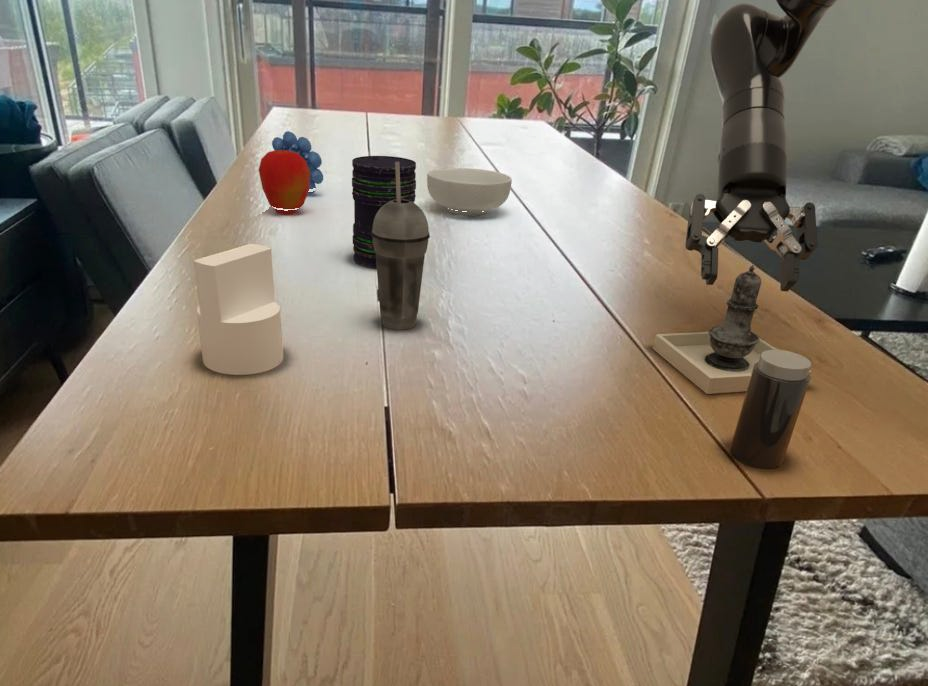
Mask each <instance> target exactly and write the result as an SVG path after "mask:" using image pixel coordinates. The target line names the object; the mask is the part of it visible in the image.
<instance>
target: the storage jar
mask: <svg viewBox="0 0 928 686" xmlns="http://www.w3.org/2000/svg"><path fill="white" fill-rule="evenodd" d="M395 162H399V165H400V193H401V199H405V200H409V201H411V202H413V203H415V201H416V197H417V195H416V190H417V180H416V177H417V176H416V175H417V174H416V169H417V162H416V161H414V160H412V159H409V158H406V157H399V156H390V155H365V156H363V155H362V156H357V157H355V158H352V161H351V166H352V171H351V173H352V178H351V187H352V191H351V194H352V199H353V203H354V204H353V205H354V208H353V209H354V210H353V212H354V213H353V214H354V223H353V224H352V245H353V247H352V248H353V252H354V253H353V256H352V257H353V262H354V263H355V264H357V265H359V266H362V267H365V268H369V269H376V270H377V266H376V253H375V251H374V246H373V236H372V235H371V232H372V229H373V222H374V219H375V216H376V214H377V212H378V211H379V209H380V208H381V207H382V206H383V205H384V204H386V203H387V202H389V201H392V200H395V199H397V198H396V170H395Z"/></svg>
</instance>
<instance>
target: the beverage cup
mask: <svg viewBox="0 0 928 686" xmlns="http://www.w3.org/2000/svg"><path fill="white" fill-rule="evenodd" d="M395 170H396V198H397V199H395V200H392V201H389V202H387V203H386V204H384V205H383V206H382V207H381V208H380V209H379V211H378V212H377V214H376V216H375V219H374V222H373V229H372V232H371V235H372V236H373V246H374V251H375V253H376V266H377V269H376V274H377V275H376V276H377V277H376V279H377V289H378V298H379V299H378V303H379V313H380V318H381V325H382V326H383V327H385V328H386V329H390V330H394V331H395V330H396V331H397V330H398V331H405V330H411V329H413V328H415V326H416V325H417V319H418V314H419V308H420V307H419V306H420V298H421V289H422V282H423V275H424V274H423V272H424V264H425V256H426V253H427V250H428V246H429V239H430V238H431V235H430V230H429V223H428V219H427V216H426V214H425V213H424V211H423V210H422V208H421V207H420V206H418V205H417V204H416V203H415V202H414V203H413V202H411V201H409V200H405V199H401V193H400V165H399V162H395Z"/></svg>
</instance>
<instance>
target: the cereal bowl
mask: <svg viewBox="0 0 928 686" xmlns="http://www.w3.org/2000/svg"><path fill="white" fill-rule="evenodd" d="M512 180H513V179H512V177H511V176H510V175H508V174H506V173H502V172H498V171H494V170H488V169H480V168H468V167H467V168H466V167H462V168H461V167H447V168H438V169H437V168H436V169H432V170H429V171H428V172H427V175H426V186H427V192H428V194H429V195H430V197H431V198H432V200H433V201H434V202H435V203H436V204H438V205H439V206H442V207H444V208H446V210H447V211H448V212H449V213H451V214H454V215H459V216H467V217H470V216H471V217H477V216H483V215H485V214H487V212H488V210H489V211H492V210H494V209H497V208H499V207H501V206H502V205H504V204H505V202H506V201H507V200H508V198H509V196H510V193H511V188H512V182H513V181H512ZM448 208H449V209H448ZM451 209H453V210H451ZM455 210H458V211H455ZM462 211H467V212H462ZM482 211H484V212H482Z"/></svg>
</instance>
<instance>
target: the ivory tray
mask: <svg viewBox="0 0 928 686" xmlns="http://www.w3.org/2000/svg"><path fill="white" fill-rule="evenodd" d="M652 350H653V351H654V352H656V353H657V354H658V355H659V356H661V358H663V359H664V360H665V361H666V362H668V364H670V365H671V366H672V367H674V368H675V369H676V370H677V371H678V372H680V373H681V374H682V375H683V376H684V377H686V378H687V379H688V380H689V381H690V382H692V383H693V385H695V386H696V387H698V388H699V389H700V390H701V391H702V392H703V393H705V394H706V395H713V394H726V393H727V394H728V393H741V392H746V391H747V388H748V384H749V381H750V377H751V374H752V370H753V367H754V365H755V364H756V363H757V362H759V358H760V355H761V353H762V352H764V351H767V350H778V348H776V347H774V346H773V345H772V344H770V343H768V342H767V341H765V340H764V339H762V338H761V337H759V342H758V343H757V344H755V347H754V349H753V350H752V351H751V352H750V354H748V355H746V356H745V357H743V358H744V359H745V360H746V361H747V362H748V363H749V368H748V369H747V370H745V371H736V372H734V371H726V370H721V369H717V368H715V367H712V366H711V365H709V364H707V363H706V362H705V356H706V355H708V354H711V353H713V352H714V350H713V349H712V347H711V345H710V334H709V331H699V332H677V333H674V332H673V333H657V334H655V337H654V341H653V345H652ZM809 374H810V375H811V374H812V371H811V370H810V371H809Z"/></svg>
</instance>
